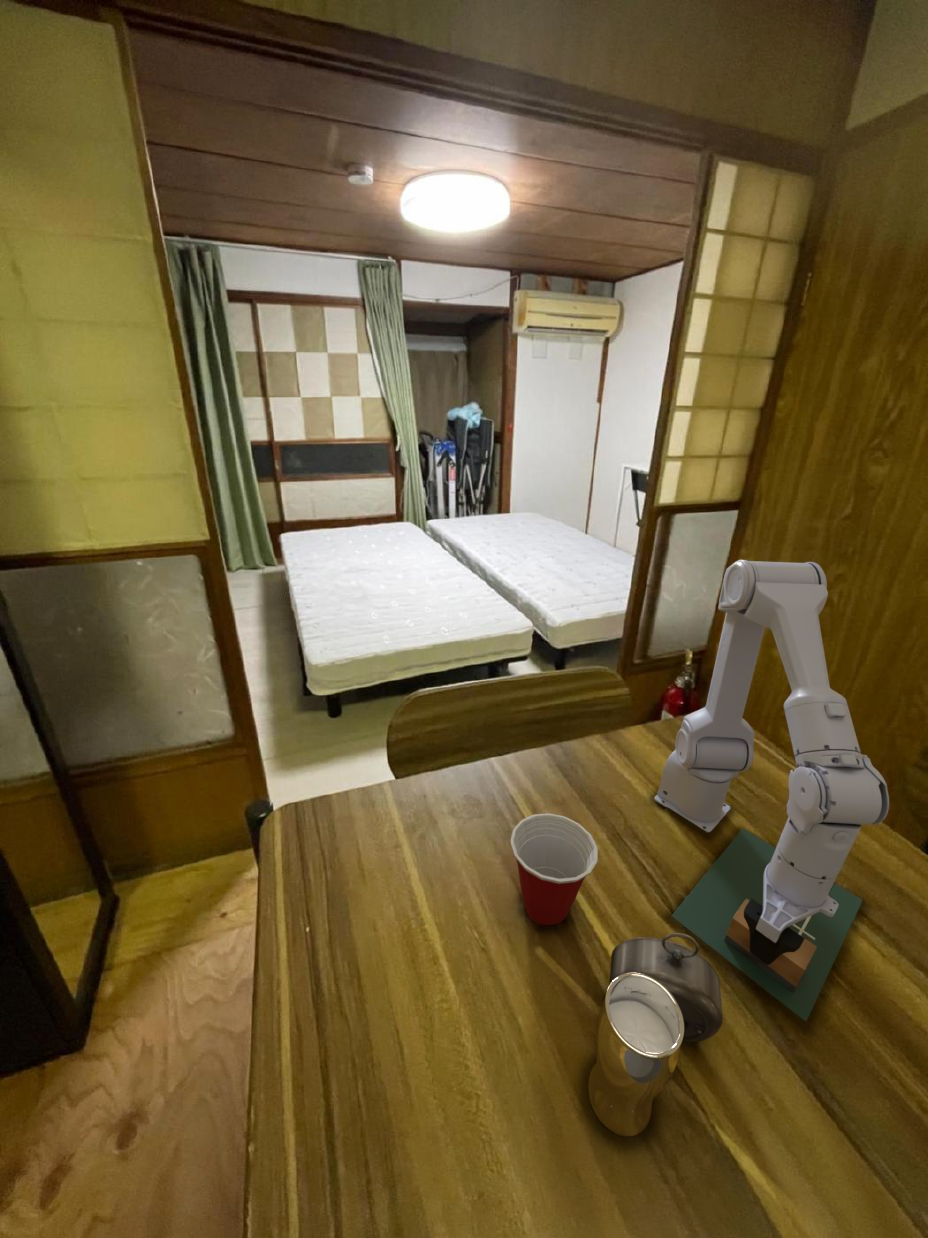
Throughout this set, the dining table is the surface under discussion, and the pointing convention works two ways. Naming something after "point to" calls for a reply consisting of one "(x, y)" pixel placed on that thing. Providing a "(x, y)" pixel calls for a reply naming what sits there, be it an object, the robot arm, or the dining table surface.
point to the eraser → (784, 967)
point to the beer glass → (633, 1051)
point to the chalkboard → (743, 879)
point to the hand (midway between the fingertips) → (772, 935)
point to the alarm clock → (676, 979)
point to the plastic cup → (551, 864)
